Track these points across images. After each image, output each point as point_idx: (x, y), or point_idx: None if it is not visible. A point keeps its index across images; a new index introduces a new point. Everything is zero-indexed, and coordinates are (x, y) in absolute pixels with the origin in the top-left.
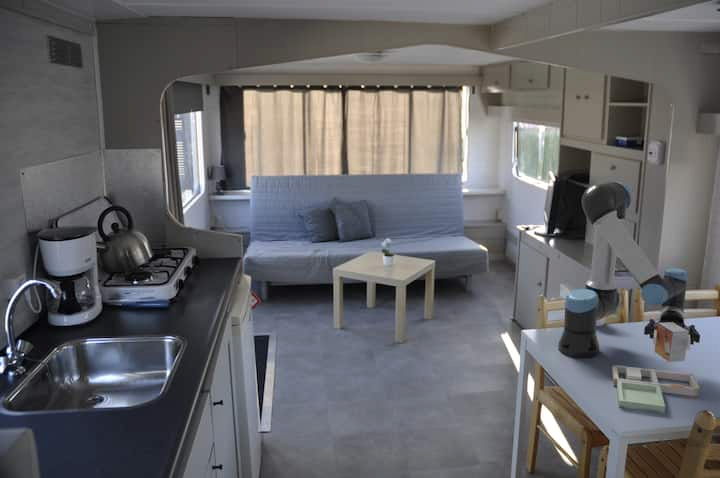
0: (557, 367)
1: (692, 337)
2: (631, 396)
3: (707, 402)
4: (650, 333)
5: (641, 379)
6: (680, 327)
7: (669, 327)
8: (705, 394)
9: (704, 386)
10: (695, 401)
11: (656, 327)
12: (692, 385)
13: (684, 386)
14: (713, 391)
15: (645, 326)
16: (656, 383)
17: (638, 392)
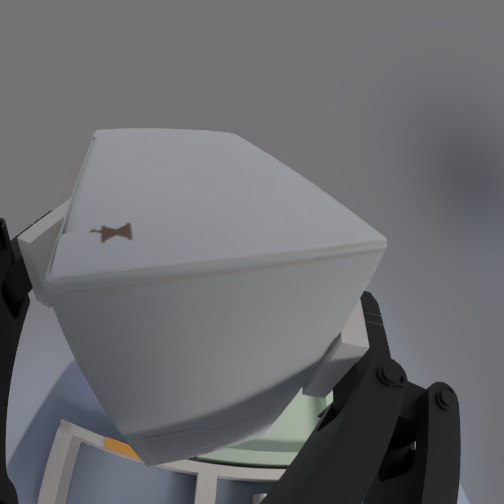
0: (465, 499)
1: (16, 243)
2: (293, 400)
3: (66, 392)
4: (375, 305)
5: (260, 493)
6: (110, 150)
7: (245, 152)
8: (45, 438)
9: (25, 485)
10: (96, 401)
11: (350, 460)
12: (66, 470)
13: (106, 440)
14: (15, 449)
15: (458, 426)
16: (206, 470)
17: (271, 431)
